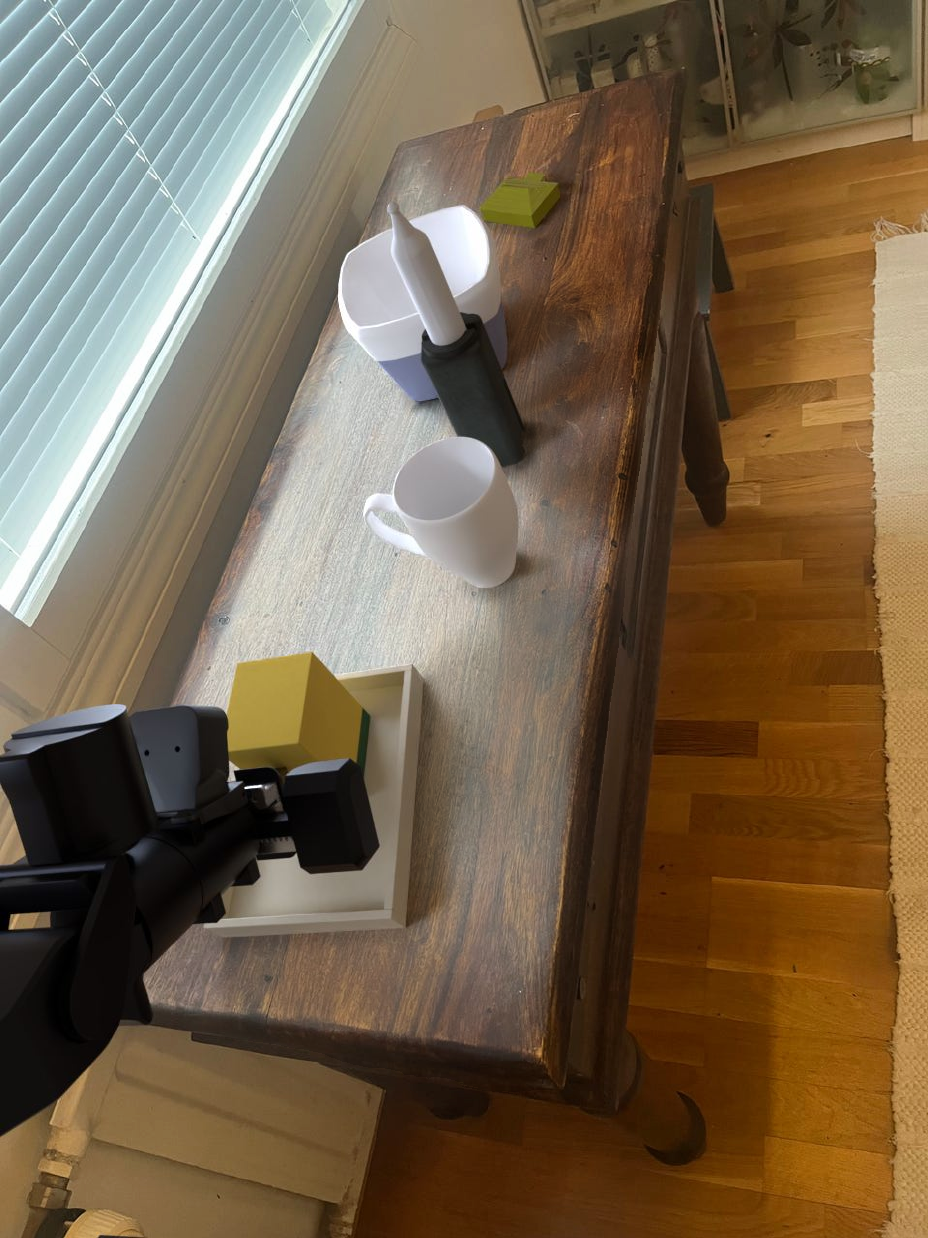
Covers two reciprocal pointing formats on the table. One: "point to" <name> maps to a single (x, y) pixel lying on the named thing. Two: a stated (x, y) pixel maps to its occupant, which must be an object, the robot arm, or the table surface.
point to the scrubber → (293, 715)
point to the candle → (457, 350)
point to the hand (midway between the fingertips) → (283, 774)
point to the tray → (390, 779)
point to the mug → (453, 511)
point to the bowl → (387, 309)
